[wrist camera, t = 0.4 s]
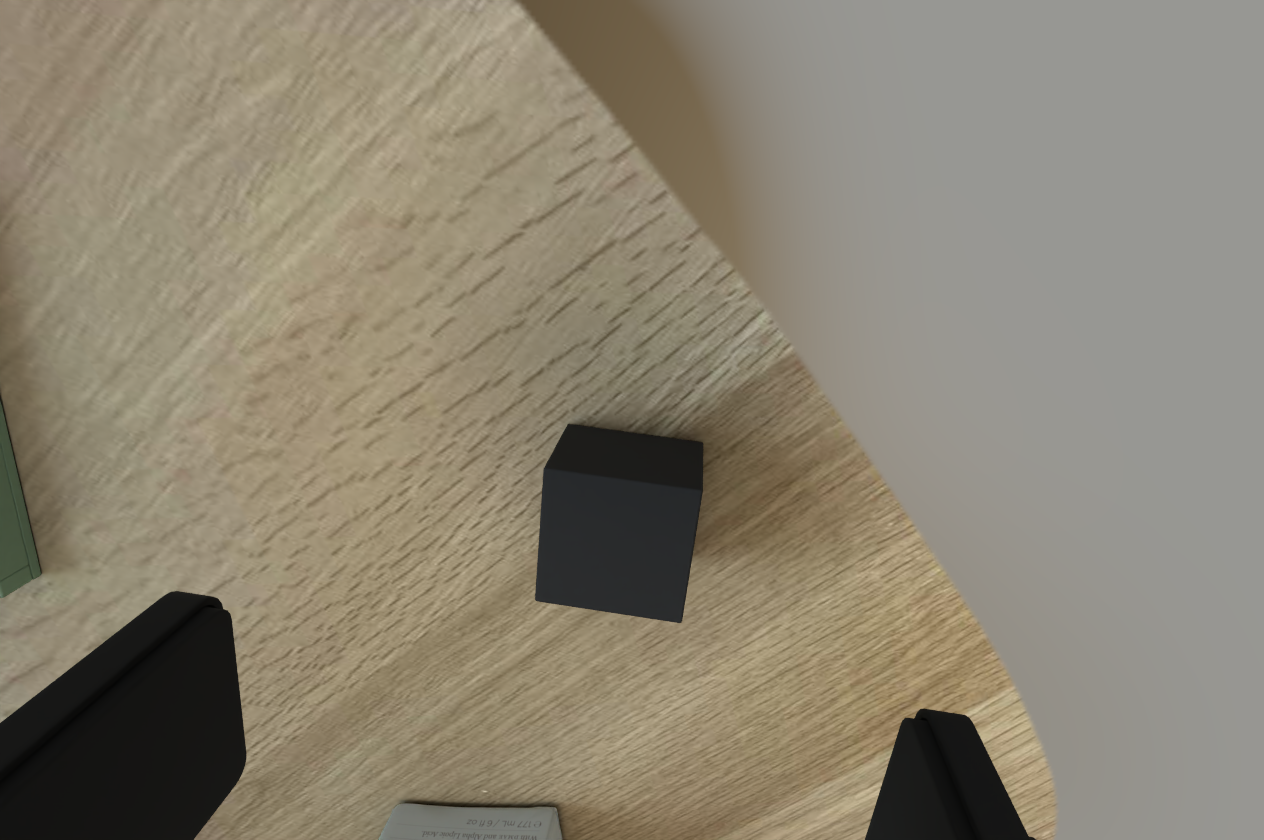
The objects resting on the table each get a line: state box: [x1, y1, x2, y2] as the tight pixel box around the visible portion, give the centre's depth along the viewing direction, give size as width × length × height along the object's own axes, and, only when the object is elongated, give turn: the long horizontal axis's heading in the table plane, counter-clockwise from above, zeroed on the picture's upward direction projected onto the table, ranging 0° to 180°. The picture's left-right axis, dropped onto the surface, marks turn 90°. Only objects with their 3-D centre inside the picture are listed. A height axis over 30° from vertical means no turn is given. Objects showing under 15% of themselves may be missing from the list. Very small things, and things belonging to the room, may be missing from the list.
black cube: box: [535, 424, 703, 623], centre depth 24 cm, size 5×5×4 cm
